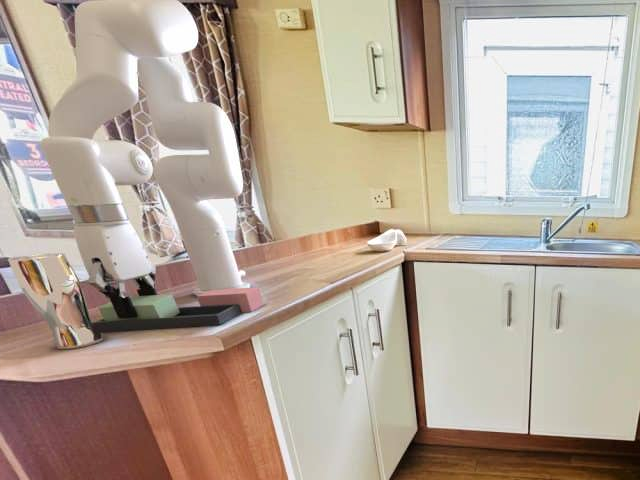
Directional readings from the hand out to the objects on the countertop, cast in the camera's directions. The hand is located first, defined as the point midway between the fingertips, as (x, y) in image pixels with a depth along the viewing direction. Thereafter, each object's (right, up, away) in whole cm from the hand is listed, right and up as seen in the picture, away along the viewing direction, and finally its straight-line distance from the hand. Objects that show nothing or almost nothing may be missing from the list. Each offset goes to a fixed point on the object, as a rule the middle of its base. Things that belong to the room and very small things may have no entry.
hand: (141, 312), depth 84 cm
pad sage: (0, -1, +1) cm, 2 cm away
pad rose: (+13, +2, +9) cm, 16 cm away
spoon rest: (+22, +43, +95) cm, 107 cm away
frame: (+5, -2, +1) cm, 6 cm away
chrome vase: (-3, -7, -9) cm, 12 cm away
